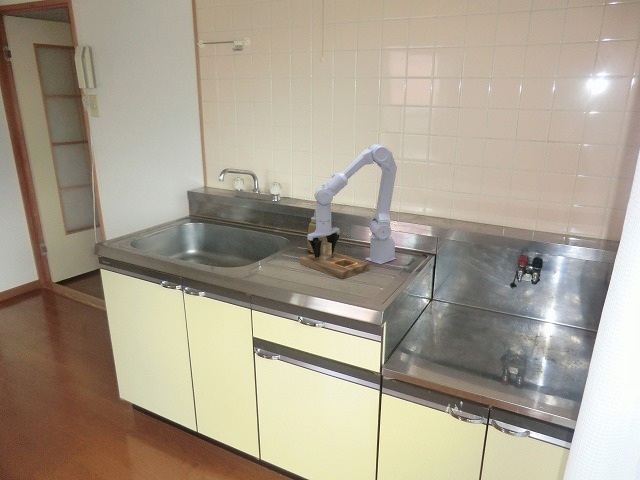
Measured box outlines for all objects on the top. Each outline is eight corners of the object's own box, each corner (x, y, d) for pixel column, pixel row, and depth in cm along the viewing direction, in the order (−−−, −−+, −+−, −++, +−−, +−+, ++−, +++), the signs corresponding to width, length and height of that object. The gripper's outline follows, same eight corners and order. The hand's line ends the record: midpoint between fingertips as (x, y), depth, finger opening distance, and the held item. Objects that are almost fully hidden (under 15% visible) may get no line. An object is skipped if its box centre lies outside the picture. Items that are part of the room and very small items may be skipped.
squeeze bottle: (304, 253, 193) (303, 210, 188) (312, 248, 200) (311, 206, 195) (322, 255, 190) (322, 211, 185) (330, 249, 197) (329, 207, 192)
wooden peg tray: (327, 255, 189) (327, 249, 188) (369, 269, 173) (369, 262, 172) (300, 263, 180) (299, 256, 180) (342, 279, 164) (342, 271, 163)
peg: (324, 261, 183) (324, 241, 181) (331, 263, 180) (331, 243, 178) (316, 263, 181) (316, 243, 178) (323, 265, 178) (323, 245, 176)
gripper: (330, 215, 183) (330, 248, 187) (301, 221, 174) (302, 256, 178) (343, 218, 178) (343, 252, 182) (314, 224, 169) (315, 260, 173)
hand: (324, 254), depth 180 cm, fingers open, 6 cm apart
